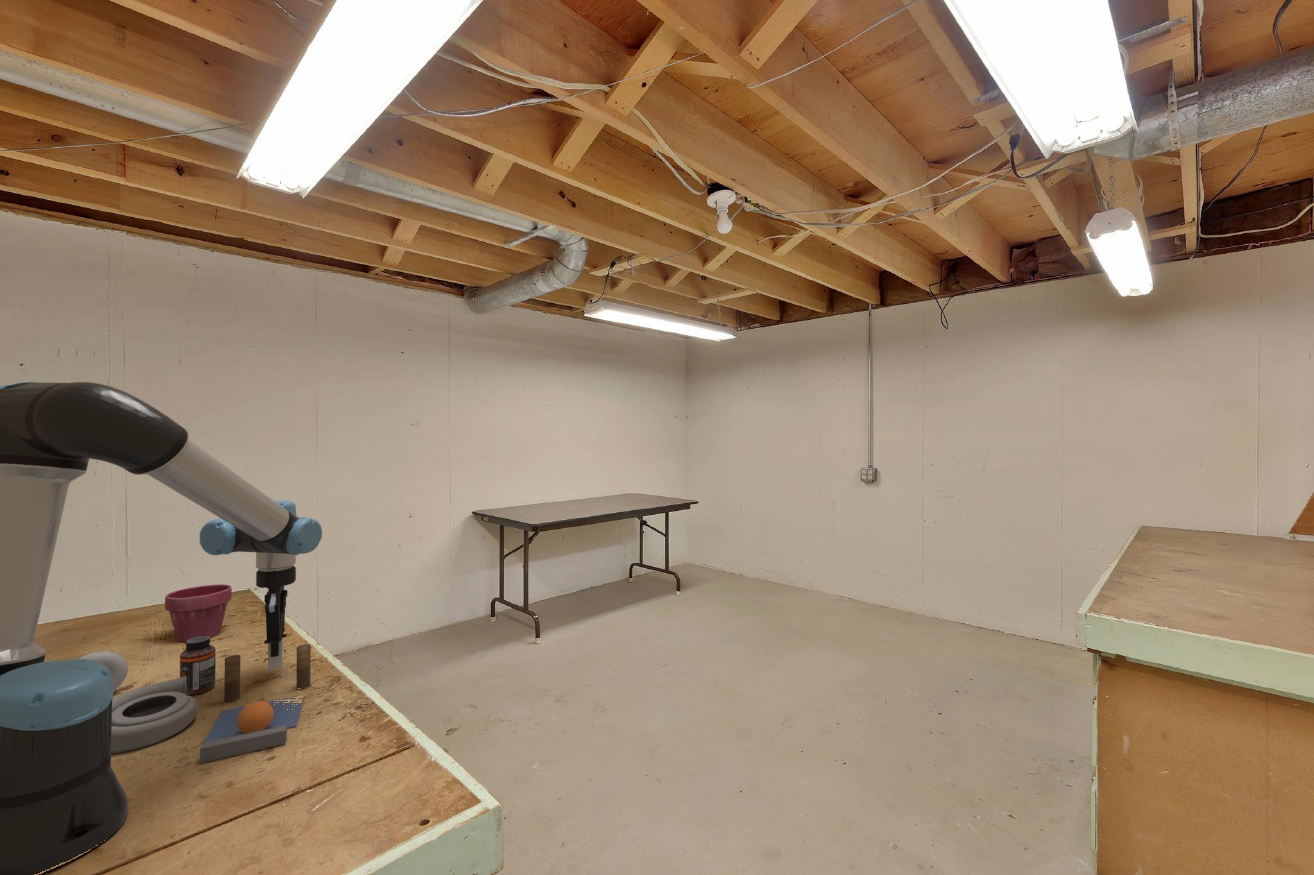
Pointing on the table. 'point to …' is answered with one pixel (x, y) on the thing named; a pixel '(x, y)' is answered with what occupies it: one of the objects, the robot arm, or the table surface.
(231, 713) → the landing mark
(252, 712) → the orange egg
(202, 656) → the supplement bottle
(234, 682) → the post left
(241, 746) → the stopper
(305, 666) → the post right
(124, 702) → the turbocharger housing
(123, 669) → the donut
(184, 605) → the plant pot
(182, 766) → the table surface
